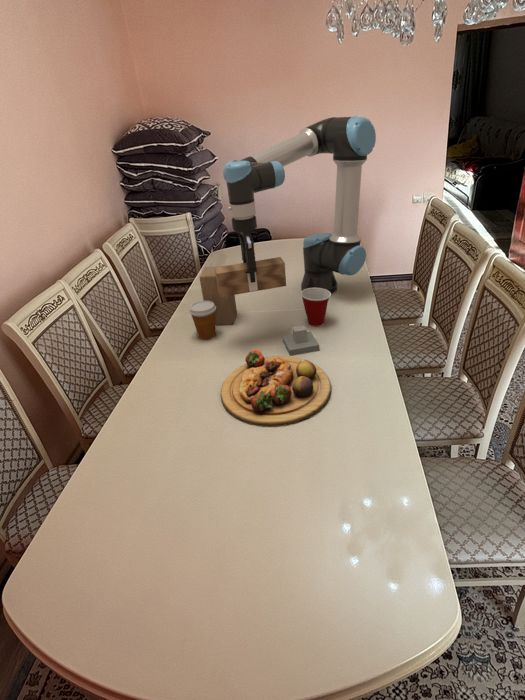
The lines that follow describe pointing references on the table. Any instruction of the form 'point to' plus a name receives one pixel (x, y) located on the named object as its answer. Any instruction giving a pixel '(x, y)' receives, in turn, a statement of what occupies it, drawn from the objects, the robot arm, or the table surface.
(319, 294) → the plastic cup
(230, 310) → the wooden block
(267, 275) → the walnut beam
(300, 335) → the pedestal
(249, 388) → the wooden plate with food
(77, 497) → the table surface
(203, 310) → the disposable coffee cup
